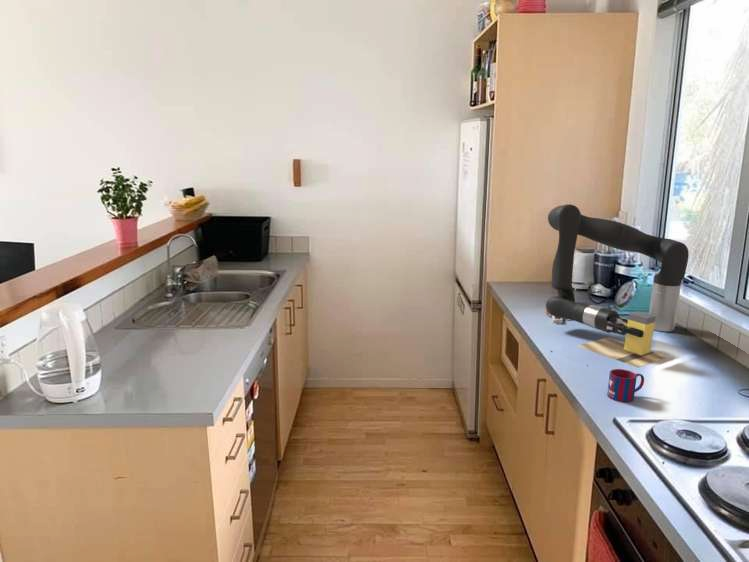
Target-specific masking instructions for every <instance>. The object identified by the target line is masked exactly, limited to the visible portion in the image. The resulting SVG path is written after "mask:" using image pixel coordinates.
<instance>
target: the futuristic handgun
mask: <svg viewBox="0 0 749 562" xmlns="http://www.w3.org/2000/svg"><path fill="white" fill-rule="evenodd" d="M545 309H546V308H545ZM545 314H546V315H547V317H548V318H552V319H551V322H553V323H552V324H554V323H556V324H555V325H563V323H564V320H565V319H564V318H559V317H555V316H553V315H551V314H550V313H549V312H548V311H547V309H546V310H545Z"/></svg>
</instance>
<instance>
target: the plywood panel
mask: <svg viewBox="0 0 749 562" xmlns="http://www.w3.org/2000/svg"><path fill="white" fill-rule="evenodd" d="M624 345H625V341H621V340H618V339H615V338H612V337H608V336H607V337H602V338H600V339H597V340H593V341H588V342H586V343H582V344H578V345H577V347H579V348H581V349H584V350H587V351H590V352H594V353H596V354H598V355H602V356H604V357H608V358H610V359H612V360H616V361H619V362H622V363H624V364H627V365H630V366H632V367H636V368H641V367H643V366H646V365H649V364H652V363H656V362H658V361H661V360H663V359H667V358H669V356H668V355H665V354H661V353H658V352H655V351H652V350H651V351H650V353H646V354H643V355H639V354H636V353H633V352H631V351H628V350H625V349H624Z"/></svg>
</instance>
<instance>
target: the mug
mask: <svg viewBox="0 0 749 562" xmlns="http://www.w3.org/2000/svg"><path fill="white" fill-rule="evenodd" d="M637 377H640V383H639V385H638V386H637V387H636V385H637ZM644 383H645V376H644V375H643V374H641V373H635V372H633V371H632V370H628V369H622V368H614V369H611V370H609V377H608V386H607V393H606V395H607V397H608V398H609V399H611V400H613V401H616V402H620V403H630V402H633V401H634V399H635V393H637V392H638V391H640V390H641V389H642V388H643V387H644V385H645V384H644Z"/></svg>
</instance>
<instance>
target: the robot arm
mask: <svg viewBox="0 0 749 562" xmlns="http://www.w3.org/2000/svg"><path fill="white" fill-rule="evenodd" d="M547 221H548V224H549V226H550V227H551V228H552V229H553V230H555V231H557V232H558V245H557V249H556V252H555V255H554V259H553V262H552V269H551V287H552V288H553V289H555V290H556V291H557V295H558V296H552V297H549V298H547V301H546V303H545V309H547V311H548V312H549V313H550V314H551V315H553V316H555V317H559V318H564V319H563V320H569V321H574V322H577V323H580V324H582V325H583V324H584V325H585V326H588V327H590V328H592V329H596V330H597V331H598V330H600V331H602V332H605V333H608V334H610V333H613V334H618V335H622V336H626V334H627V335H634V336H637V337H640V338H641V337H643V333H644V332H643V330H639V329H636V328H632V327H630V326H627V323H628V317H622V316H621V317H620V315H619V313H618V312H617V311H616V310H613V309H609V308H607V307H603V306H600V305H593V304H589V303H586V302H582V301H576V299H575V294H574V289H573V288H574V287H573V275H574V274H573V273H574V272H573V271H574V260H575V259H574V258H575V251H576V245H577V240H578V236H581V237H584V238H586V239H589V240H591V241H594V242H596V243H600V244H601V245H604V246H607V247H609V248H613V249H616V250H620V251H623V252H632V253H638V254H640V255H644V256H646V257H649V258H650V259H653V260H656V261H658V262H659V263H660V264H661V265H660V271H659V272H658V273H655V274H654V275H653V279H652V280H653V281H652V288H651V296H650V303H649V308H648V309H649V310H648V314H650V315H654V316H656V318H655V324H654V331H656V332H657V331H659V332H673V331H675V328H676V323H677V316H678V309H679V299H680V296H681V295H680V293H681V286H682V282H683V280H684V279H685V275H686V271H687V267H688V263H689V262H688V261H689V255H690V254H689V253H690V251H689V247H688V246H687V245H686V244H685V243H683V242H681V241H677V240H675V239H671V238H665V237H660V236H655V235H650V234H648V233H645V232H643V231H641V230H639V229H638V228H636V227H633V226H630V225H629V224H625V223H622V222H619V221H617V220H611V219H607V218H606V219H605V218H598V217H590V216H586V215H583V214H581V211H580V209H579V208H578V207H577V206H576V205H574V204H571V203H570V204H568V203H567V204H562V205H558V206H555V207H554V208H552V209H551V210H550V211H549V213H548V215H547ZM654 331H653V333H654Z"/></svg>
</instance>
